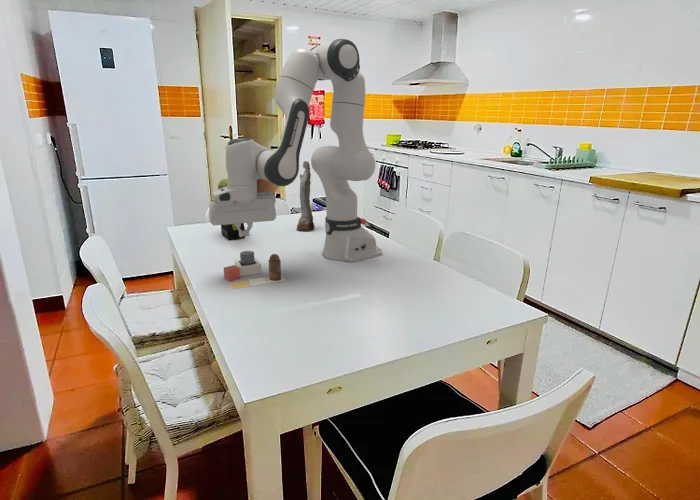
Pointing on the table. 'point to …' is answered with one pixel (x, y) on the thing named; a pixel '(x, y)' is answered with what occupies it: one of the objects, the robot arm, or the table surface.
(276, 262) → the pawn
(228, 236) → the cordless drill
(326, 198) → the robot arm
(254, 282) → the board
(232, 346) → the table surface
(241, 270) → the housing
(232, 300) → the table surface
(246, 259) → the dome
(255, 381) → the table surface
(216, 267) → the table surface
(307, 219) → the statue
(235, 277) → the red cube
